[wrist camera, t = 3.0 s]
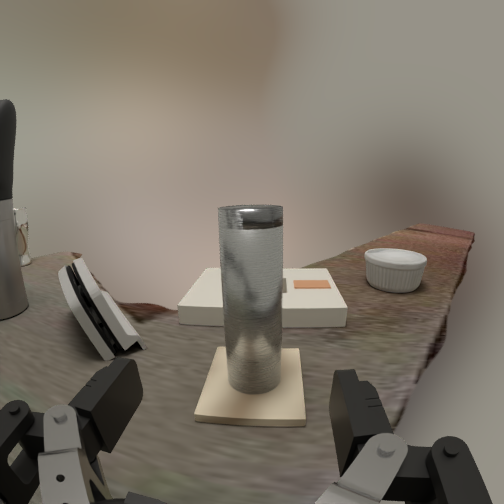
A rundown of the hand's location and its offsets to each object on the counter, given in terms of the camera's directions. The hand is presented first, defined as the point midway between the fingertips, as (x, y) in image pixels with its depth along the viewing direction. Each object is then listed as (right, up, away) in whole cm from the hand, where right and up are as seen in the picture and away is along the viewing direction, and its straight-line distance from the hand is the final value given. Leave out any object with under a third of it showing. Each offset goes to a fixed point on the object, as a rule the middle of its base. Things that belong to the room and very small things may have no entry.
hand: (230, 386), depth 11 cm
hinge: (-18, -5, +22) cm, 29 cm away
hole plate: (+3, -2, +31) cm, 32 cm away
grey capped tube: (+1, -5, +13) cm, 14 cm away
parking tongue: (+1, -6, +13) cm, 14 cm away
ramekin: (+25, -1, +36) cm, 44 cm away
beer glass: (-61, +2, +51) cm, 80 cm away
